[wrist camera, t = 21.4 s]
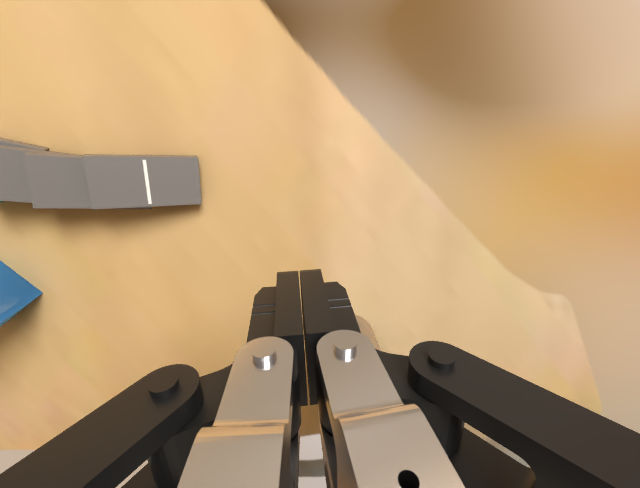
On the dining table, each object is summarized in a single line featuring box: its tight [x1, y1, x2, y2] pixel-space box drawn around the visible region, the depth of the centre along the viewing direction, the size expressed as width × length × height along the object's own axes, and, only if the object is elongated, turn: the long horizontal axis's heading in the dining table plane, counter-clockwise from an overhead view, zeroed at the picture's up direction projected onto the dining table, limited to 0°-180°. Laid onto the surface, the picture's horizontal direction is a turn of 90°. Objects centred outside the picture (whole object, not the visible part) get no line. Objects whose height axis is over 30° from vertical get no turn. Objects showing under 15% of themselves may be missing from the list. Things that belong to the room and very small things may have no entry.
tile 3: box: [0, 145, 83, 203], centre depth 31 cm, size 5×2×10 cm
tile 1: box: [82, 154, 202, 209], centre depth 32 cm, size 5×2×10 cm
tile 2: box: [23, 152, 152, 209], centre depth 32 cm, size 5×2×10 cm
